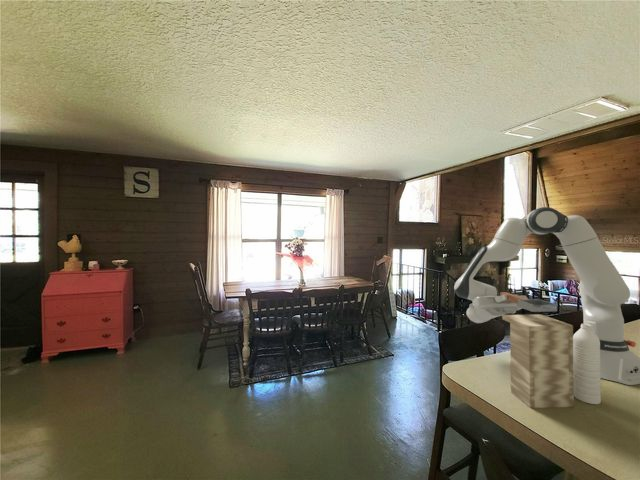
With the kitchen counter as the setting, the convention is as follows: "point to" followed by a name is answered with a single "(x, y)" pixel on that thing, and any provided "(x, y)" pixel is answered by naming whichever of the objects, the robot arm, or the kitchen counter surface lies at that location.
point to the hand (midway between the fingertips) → (511, 296)
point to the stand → (541, 360)
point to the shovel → (531, 303)
